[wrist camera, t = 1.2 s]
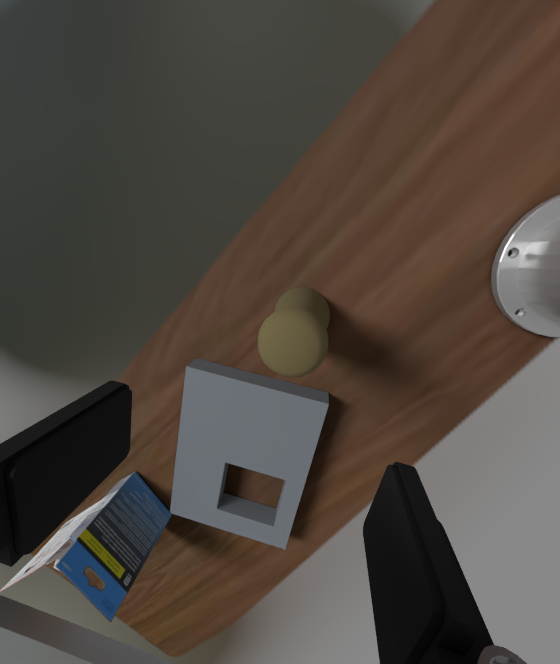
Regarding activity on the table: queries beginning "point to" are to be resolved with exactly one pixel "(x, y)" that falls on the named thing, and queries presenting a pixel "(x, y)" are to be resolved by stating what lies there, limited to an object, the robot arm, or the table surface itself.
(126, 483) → the blue and white box
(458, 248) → the table surface
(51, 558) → the ink cartridge box
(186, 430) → the socket board
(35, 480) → the robot arm
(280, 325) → the cork
